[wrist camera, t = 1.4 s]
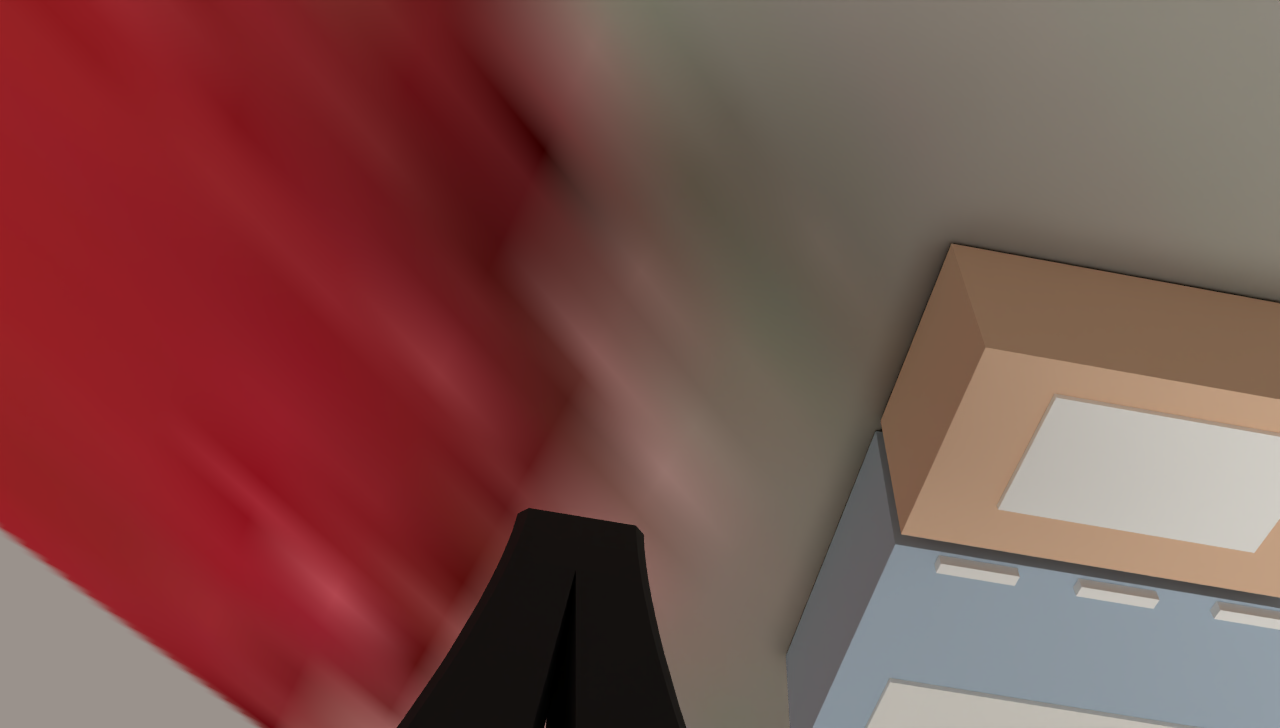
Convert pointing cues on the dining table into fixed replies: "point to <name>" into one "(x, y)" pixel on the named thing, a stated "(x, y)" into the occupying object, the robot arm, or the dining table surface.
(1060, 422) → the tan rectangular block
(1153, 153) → the dining table surface
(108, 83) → the dining table surface
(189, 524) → the dining table surface
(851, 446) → the dining table surface
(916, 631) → the pad
